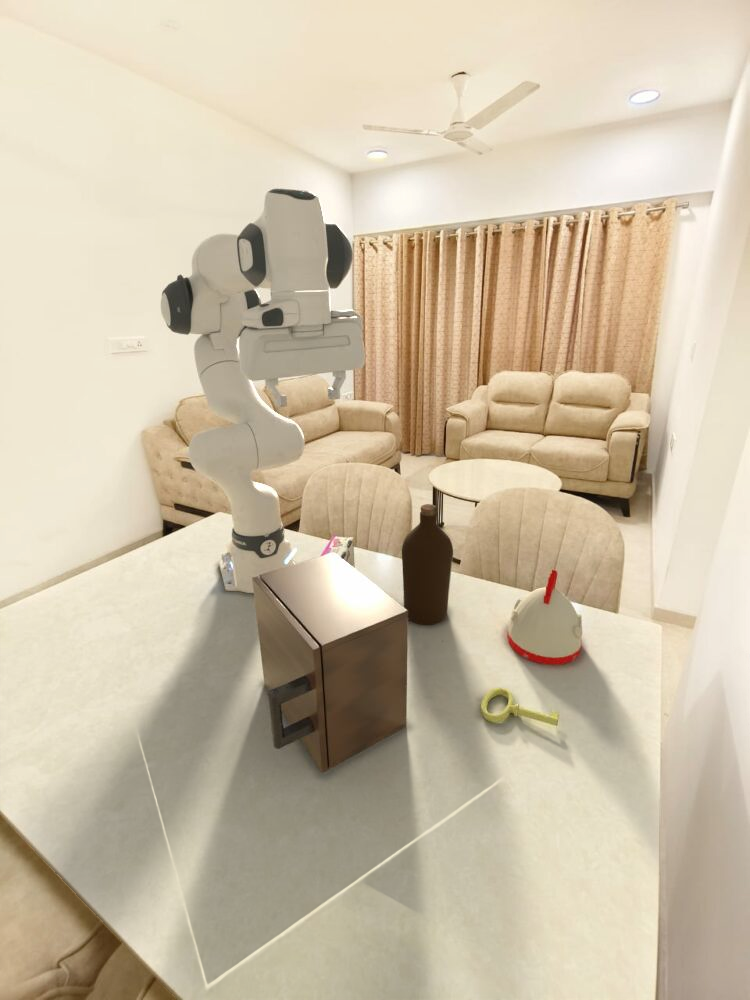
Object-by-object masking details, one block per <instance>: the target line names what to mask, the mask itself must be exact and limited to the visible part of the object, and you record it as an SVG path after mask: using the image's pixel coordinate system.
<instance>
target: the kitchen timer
mask: <svg viewBox="0 0 750 1000" xmlns="http://www.w3.org/2000/svg"><path fill="white" fill-rule="evenodd" d="M557 578H558V571H557V570H555V569H551V573H550V574H549V576H548V578H547V579H548V581H547V585H546V586H544V587H540V588H539V587H538V588H536V589H534V590H532V591H531V592H529V593H528V594H526V595H525V596H524V597H523V598H518V599H517V600H516V602H515V604H514V607H513V609H512V612H511V615H510V621H509V623H508V627H507V635H506V637H507V641H508V645H510V647H511V649H512V650H513V651H514V652H516V653H517V654H519V655H520V657H521V656H522V657H523V658H525V659H527V660H529V661H532V662H535V663H538V664H542V665H550V666H557V665H558V666H559V665H565V664H568V663H571V662H573V661H575V659H577V658H578V657H579V655H580V654H581V650H582V643H583V642H582V641H583V640H582V637H583V621H582V620H583V618H582V614H581V613H577V611H576V610H575V607H574V605H573V604H572V601H571V600H570V599H569V598H568V597H567V596H566V595H565V594H564V593H563V592H561V591H560V590H558V589H556V585H557Z"/></svg>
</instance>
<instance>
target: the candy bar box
mask: <svg viewBox="0 0 750 1000" xmlns="http://www.w3.org/2000/svg"><path fill="white" fill-rule="evenodd" d="M333 552H334V553H335V554H337V555H338V556H339V557H340V558H342V559H343V560H344V561H346V562H347V563H348V564H349V565H351V566H352V567H353V568H354V569H356V568H355V547H354V537H353V536H351V537H350V536H339V535H333V536H331V538H330V540H329V542H328V543H327V545H326V546H325V548H324V550H323V551H322V553H321V554H320V556H323V555H327V554H330V553H333Z"/></svg>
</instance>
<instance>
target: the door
mask: <svg viewBox="0 0 750 1000" xmlns="http://www.w3.org/2000/svg"><path fill="white" fill-rule="evenodd" d="M252 582H253V591H254V593H253V598H254V606H255V608H254V609H255V615H256V623H257V631H258V641H259V649H260V657H261V658H260V659H261V666H262V667H261V668H262V674H263V683H264V685H265V687H266V688H267V690H268V692H267V694H266V695H267V705H268V713H269V721H270V729H271V730H270V731H271V738H272V746H273V748H275V749H277V750H281V749H283V748H284V747H287V746H288V745H291V744H293V743H294V742H296V741H298V740H300V741H301V742H302V744H303V746H304V747H305V749H306V751H307V752H308V753H309V755H310V757H311V758H312V760H313V761H314V762H315V764H316V766H317V767H318V769H319V771H320V772H321V773H324V772H326V771H328V770H329V767H328V764H327V748H326V733H325V717H324V701H323V686H322V670H321V654H320V647H319V646H318V645H317V643H316V642H315V641H314V640H313V639H312V638H311V637H310V635H309V634H308V633H307V632H306V631H305V630H304V629H303V627H302V626H301V625H300V624H299V623H298V622H297V621H296V619H295V618H294V617H293V616H292V615H291V614H290V613H289V611H288V610H287V609H286V608H285V607H284V606H283V605H282V603H281V602H280V601H279V600H278V599H277V598H276V597H275V595H274V594H273V593H272V592H271V591H270V590H269V589H268V587H267V586H266V585H265V584H264V583H263V582H262V581H261V579H260V578H259V577H258V576H257V577H253V578H252ZM283 714H284V715H283ZM283 716H284V717H285V718H286V720H287V721H288V722H289V725H288V726H285V727H284V720H283Z"/></svg>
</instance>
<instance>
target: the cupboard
mask: <svg viewBox="0 0 750 1000" xmlns="http://www.w3.org/2000/svg"><path fill="white" fill-rule="evenodd" d="M259 577H260V579H261V581H262V582H263V583H264V584H265V585H266V586H267V587H268V589H269V590H270V591H271V592H272V593H273V594H274V595H275V597H276V598H277V599H278V600H279V601H280V602H281V603H282V605H283V606H284V607H285V608H286V609H287V610H288V611H289V613H290V614H291V615H292V616H293V617H294V618H295V619H296V621H297V622H298V623H299V624H300V625H301V626H302V627H303V629H304V630H305V631H306V632H307V633H308V634H309V635H310V637H311V638H312V639H313V640H314V641H315V642H316V643H317V645H318V646H319V647H320V654H321V670H322V686H323V701H324V717H325V733H326V748H327V764H328V770H331V769H333V768H334V767H336V766H338V765H340V764H342V763H344V762H345V761H347V760H349V759H350V758H352V757H354V756H356V755H358V754H359V753H361V752H363V751H365V750H366V749H368V748H371V747H372V746H374V745H376V744H377V743H379V742H381V741H383V740H385V739H387V738H388V737H390V736H392V735H394V734H396V733H398V732H400V731H401V730H403V729H405V728H407V716H408V715H407V713H408V712H407V711H408V710H407V707H408V704H407V703H408V646H409V645H408V643H409V642H408V641H409V640H408V639H409V619H408V610H407V609H405V608H404V605H401V604H400V603H399V602H397V600H395V599H394V598H393V597H392V596H390V595H389V594H388V593H386V592H385V591H384V590H383V589H381V588H380V587H379V586H378V585H376V584H375V583H374V582H372V581H371V580H370V579H369V578H367V577H366V576H365V575H363V574H362V573H361V571H359V570H357V569H356V568H355V569H354V568H353V567H352V566H351V565H349V564H348V563H347V562H346V561H344V560H343V559H342V558H340V557H339V556H338V555H337V554H335V553H334V552H333V553H330V554H327V555H323V556H321V555H320V556H316V557H313V558H311V559H308V560H304V561H300V562H298V563H296V564H294V565H290V566H287V567H284V568H280V569H277V570H274V571H270V572H267V573H264V574H261V575H259Z"/></svg>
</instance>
